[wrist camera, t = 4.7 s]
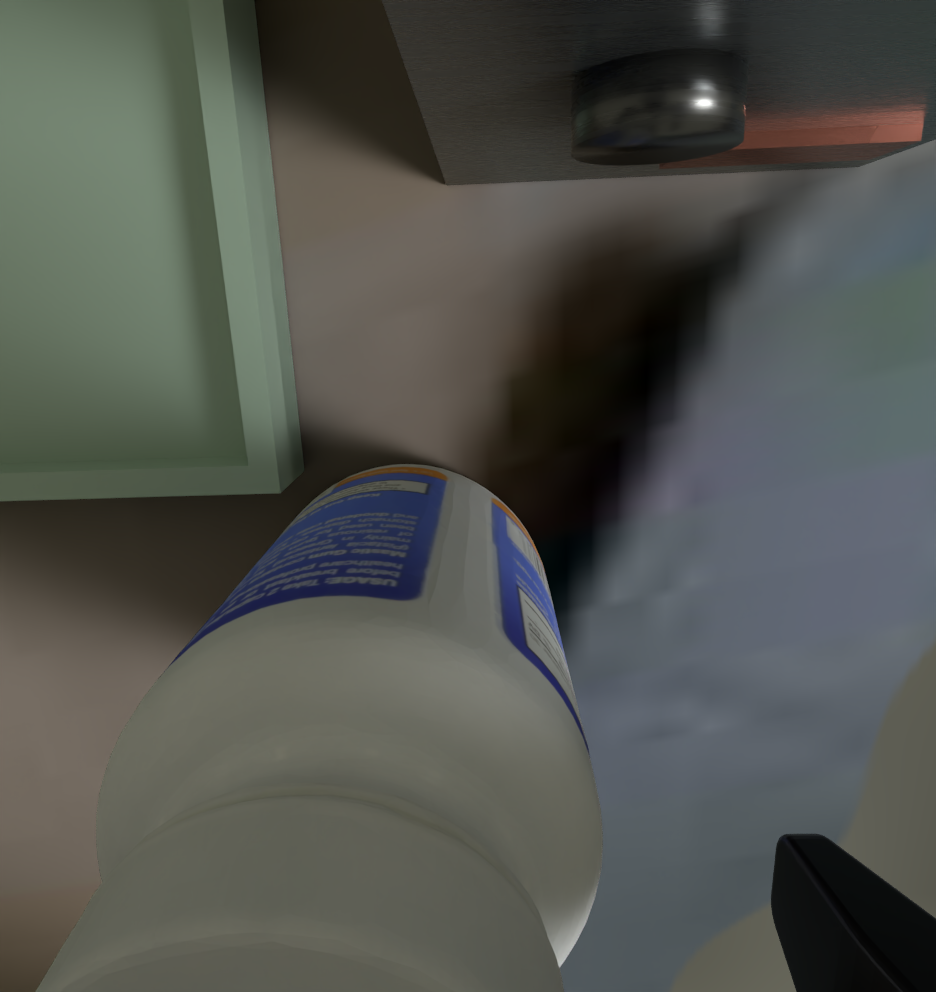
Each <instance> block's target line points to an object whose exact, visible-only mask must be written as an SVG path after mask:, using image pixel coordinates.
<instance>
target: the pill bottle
mask: <svg viewBox="0 0 936 992" xmlns="http://www.w3.org/2000/svg"><path fill="white" fill-rule="evenodd" d="M96 845H97V857H98V864H99V871H100V876H101V880H102V883H101V885H100V886H99V888H98V889H97V890H96V892H95V893H94V894H93V896H92V898H91V899H90V901H89V903H88V905H87V907H86V908H85V910H84V912H83V914H82V916H81V918H80V919H79V921H78V922H77V924H76V925H75V927H74V929H73V930H72V932H71V933H70V935H69V936H68V938H67V939H66V941H65V943H64V944H63V946H62V948H61V950H60V951H59V953H58V955H57V956H56V958H55V960H54V961H53V963H52V965H51V966H50V968H49V970H48V971H47V973H46V975H45V977H44V978H43V980H42V982H41V983H40V985H39V987H38V988H37V990H36V991H35V992H564V989H563V983H562V977H561V972H560V968H559V967H560V966H561V965H562V963H563V962H564V961H565V959H566V958H567V956H568V954H569V953H570V951H571V950H572V948H573V946H574V945H575V943H576V941H577V939H578V937H579V935H580V934H581V932H582V930H583V928H584V926H585V924H586V921H587V919H588V916H589V913H590V910H591V907H592V904H593V902H594V899H595V895H596V890H597V886H598V881H599V877H600V872H601V866H602V848H603V832H602V819H601V808H600V803H599V798H598V793H597V788H596V783H595V778H594V774H593V769H592V765H591V761H590V756H589V750H588V745H587V741H586V737H585V733H584V730H583V726H582V723H581V719H580V715H579V711H578V706H577V702H576V698H575V694H574V690H573V686H572V682H571V678H570V674H569V670H568V666H567V662H566V658H565V654H564V650H563V646H562V642H561V638H560V633H559V629H558V625H557V621H556V616H555V612H554V608H553V603H552V599H551V594H550V590H549V586H548V582H547V579H546V575H545V571H544V568H543V564H542V561H541V559H540V556H539V554H538V552H537V549H536V547H535V545H534V543H533V541H532V539H531V537H530V536H529V534H528V532H527V530H526V529H525V527H524V526H523V525H522V523H521V522H520V521H519V519H518V518H517V517H516V515H515V514H514V513H513V512H512V511H511V510H510V509H509V508H508V507H507V506H506V505H505V504H504V503H503V502H502V501H501V500H500V499H499V498H497V497H496V496H495V495H494V494H492V493H491V492H490V491H488V490H487V489H486V488H484V487H483V486H481V485H479V484H478V483H476V482H474V481H472V480H470V479H468V478H466V477H464V476H462V475H460V474H457V473H454V472H451V471H448V470H445V469H442V468H437V467H433V466H428V465H417V464H396V465H387V466H381V467H376V468H372V469H369V470H365V471H362V472H359V473H357V474H354V475H351V476H349V477H347V478H345V479H343V480H341V481H340V482H338V483H336V484H334V485H332V486H331V487H330V488H328V489H327V490H325V491H324V492H323V493H321V494H320V495H319V496H317V497H316V498H315V499H314V500H313V501H311V502H310V503H309V504H308V505H307V506H306V507H305V508H304V509H303V510H302V511H301V512H300V513H299V514H298V516H297V517H296V518H295V519H294V520H293V521H292V522H291V523H290V525H289V526H288V527H287V528H286V529H285V530H284V531H283V533H282V534H281V535H280V536H279V537H278V539H277V540H276V541H275V542H274V544H273V545H272V546H271V547H270V548H269V549H268V551H267V552H266V553H265V554H264V555H263V556H262V558H261V559H260V560H259V561H258V562H257V563H256V564H255V566H254V567H253V568H252V569H251V570H250V572H249V573H248V574H247V575H246V576H245V577H244V579H243V580H242V581H241V582H240V583H239V585H238V586H237V587H236V588H235V589H234V590H233V592H232V593H231V594H230V595H229V597H228V598H227V599H226V600H225V601H224V603H223V604H222V605H221V606H220V607H219V608H218V609H217V611H216V612H215V613H214V614H213V615H212V616H211V617H210V619H209V620H208V621H207V622H206V623H205V624H204V626H203V627H202V628H201V629H200V630H199V631H198V633H197V634H196V635H195V636H194V637H193V638H192V640H191V641H190V642H189V643H188V644H187V646H186V647H185V648H184V649H183V650H182V651H181V652H180V653H179V655H178V656H177V657H176V658H175V659H174V661H173V662H172V663H171V664H170V665H169V667H168V668H167V669H166V670H165V671H164V673H163V674H162V675H161V676H160V677H159V679H158V680H157V681H156V682H155V684H154V685H153V686H152V687H151V689H150V690H149V691H148V693H147V694H146V695H145V697H144V698H143V699H142V701H141V703H140V704H139V706H138V707H137V709H136V710H135V712H134V713H133V715H132V717H131V718H130V720H129V721H128V723H127V724H126V726H125V728H124V729H123V731H122V732H121V734H120V736H119V739H118V741H117V743H116V745H115V747H114V749H113V751H112V754H111V756H110V759H109V762H108V765H107V768H106V771H105V774H104V778H103V782H102V785H101V789H100V793H99V800H98V807H97V818H96Z"/></svg>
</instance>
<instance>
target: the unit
mask: <svg viewBox="0 0 936 992" xmlns="http://www.w3.org/2000/svg"><path fill="white" fill-rule="evenodd" d="M382 2H383V5H384V8H385V11H386V14H387V17H388V19H389V22H390V25H391V28H392V31H393V34H394V37H395V39H396V42H397V45H398V48H399V51H400V54H401V57H402V60H403V62H404V65H405V68H406V71H407V74H408V77H409V80H410V83H411V85H412V88H413V91H414V94H415V97H416V100H417V103H418V106H419V108H420V111H421V114H422V117H423V120H424V123H425V126H426V128H427V131H428V134H429V137H430V140H431V143H432V146H433V149H434V151H435V154H436V157H437V160H438V163H439V166H440V169H441V172H442V174H443V177H444V180H445V183H446V185H465V184H488V183H510V182H533V181H555V180H578V179H600V178H623V177H645V176H667V175H690V174H712V173H735V172H757V171H780V170H802V169H825V168H847V167H860V166H863V165H865V164H868V163H871V162H874V161H877V160H879V159H882V158H885V157H888V156H891V155H893V154H896V153H899V152H902V151H904V150H907V149H910V148H913V147H916V146H918V145H921V144H924V143H927V142H930V141H932V140H935V139H936V0H382Z"/></svg>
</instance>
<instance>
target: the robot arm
mask: <svg viewBox="0 0 936 992" xmlns="http://www.w3.org/2000/svg"><path fill="white" fill-rule="evenodd" d="M771 908H772V915H773V919H774V923H775V927H776V930H777V933H778V936H779V939H780V942H781V945H782V948H783V951H784V955H785V958H786V961H787V964H788V967H789V970H790V973H791V976H792V979H793V982H794V985H795V988H796V991H797V992H936V918H934V917H933V916H932V915H930V914H929V913H928V912H926V911H925V910H924V909H922V908H921V907H919V906H918V905H917V904H916V903H914V902H913V901H912V900H910V899H909V898H908V897H906V896H905V895H903V894H902V893H901V892H899V891H898V890H897V889H895V888H894V887H893V886H891V885H890V884H889V883H887V882H886V881H884V880H883V879H882V878H880V877H879V876H878V875H877V874H875V873H874V872H873V871H871V870H870V869H869V868H867V867H866V866H865V865H863V864H862V863H861V862H859V861H858V860H857V859H855V858H854V857H853V856H851V855H850V854H848V853H847V852H846V851H844V850H843V849H842V848H840V847H839V846H838V845H836V844H835V843H834V842H832V841H831V840H830V839H828V838H826V837H825V836H823V835H820V834H785V835H783V836H781V837H780V838H779V840H778V842H777V846H776V854H775V864H774V873H773V883H772V892H771Z"/></svg>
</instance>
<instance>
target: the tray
mask: <svg viewBox="0 0 936 992" xmlns="http://www.w3.org/2000/svg"><path fill="white" fill-rule="evenodd" d="M303 472H304V461H303V452H302V443H301V433H300V424H299V414H298V405H297V396H296V386H295V377H294V367H293V358H292V349H291V339H290V330H289V320H288V311H287V302H286V292H285V283H284V274H283V264H282V255H281V245H280V236H279V227H278V217H277V208H276V198H275V189H274V180H273V170H272V161H271V151H270V142H269V133H268V123H267V114H266V104H265V95H264V86H263V76H262V67H261V57H260V48H259V39H258V29H257V20H256V10H255V1H254V0H0V501H27V500H62V499H97V498H132V497H167V496H202V495H237V494H272V493H281V492H282V491H284V490H285V489H286V488H287V487H288V486H289V485H290V484H291V483H292V482H293V481H294V480H295V479H296V478H297V477H298V476H300V475H301V474H302V473H303Z"/></svg>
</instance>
